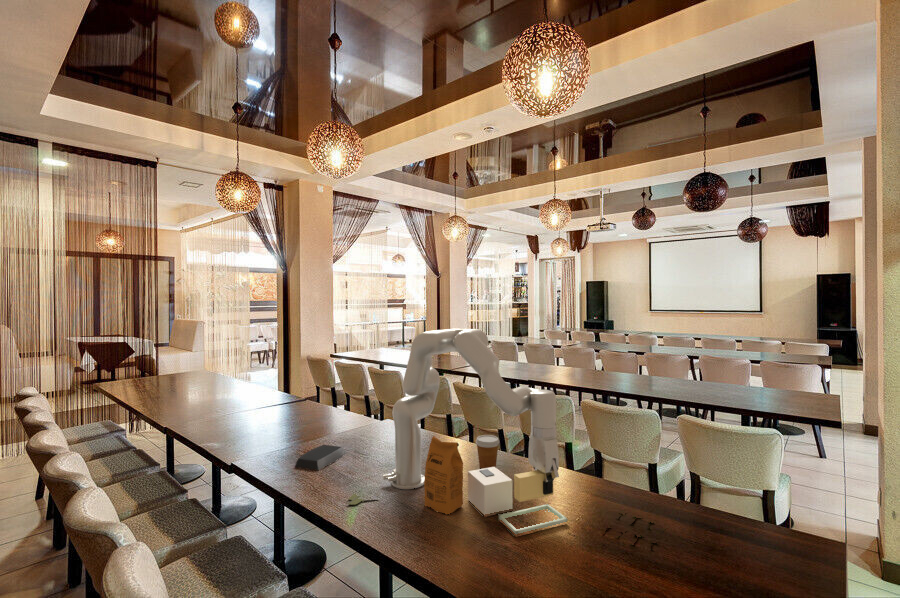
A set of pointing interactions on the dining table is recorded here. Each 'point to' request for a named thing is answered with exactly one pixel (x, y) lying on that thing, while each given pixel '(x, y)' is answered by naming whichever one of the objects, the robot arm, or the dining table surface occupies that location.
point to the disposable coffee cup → (487, 450)
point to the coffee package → (443, 477)
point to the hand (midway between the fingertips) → (544, 490)
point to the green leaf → (354, 499)
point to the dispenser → (489, 490)
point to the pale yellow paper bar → (529, 485)
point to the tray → (537, 526)
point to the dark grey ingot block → (320, 457)
